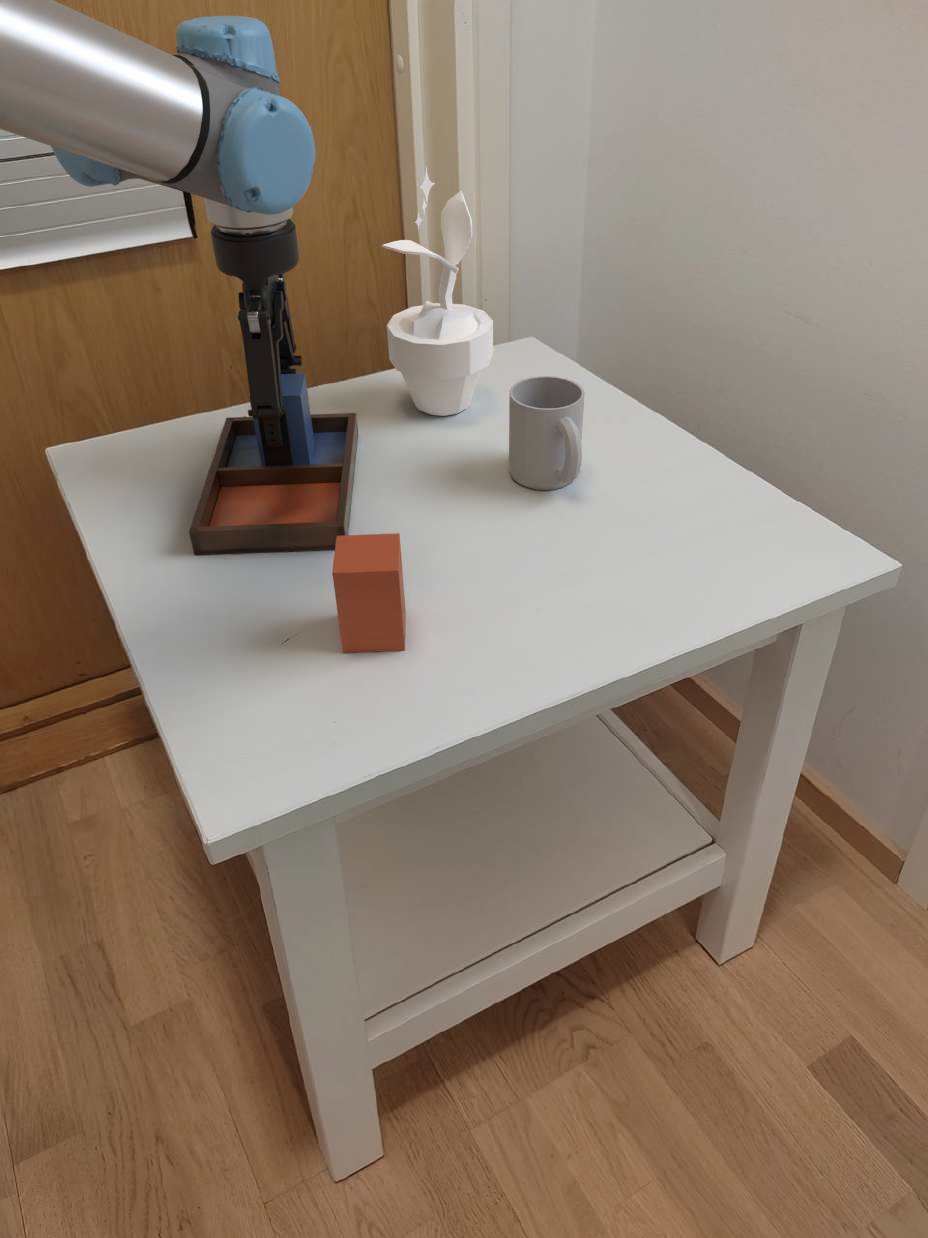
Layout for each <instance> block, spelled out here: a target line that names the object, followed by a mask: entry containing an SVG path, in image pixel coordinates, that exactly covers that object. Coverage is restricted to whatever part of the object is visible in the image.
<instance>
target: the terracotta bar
mask: <svg viewBox="0 0 928 1238" xmlns="http://www.w3.org/2000/svg"><path fill="white" fill-rule="evenodd" d="M401 545H402V543H401V534H400V533H373V534H372V533H371V534H348V535H343V536H337V537H336V545H335V550H334V555H333V556H334V557H333V564H332V574H331V575H332V581H333V582H332V583H333V588H334V589H333V590H334V597H335V604H336V610H337V611H336V612H337V618H338V626H339V633H340V641H341V648H342V653H343V654H346V653H349V654H350V653H368V652H369V653H372V652H373V653H374V652H396V651H397V652H398V651H405V650H406V617H407V616H406V615H407V614H406V611H407V610H406V600H405V599H406V597H405V585H404V571H403V559H402V547H401Z"/></svg>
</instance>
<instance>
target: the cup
mask: <svg viewBox="0 0 928 1238" xmlns="http://www.w3.org/2000/svg"><path fill="white" fill-rule="evenodd" d="M585 394H586V393H585V390H584V388H583V387H582V385H580V384H579V383H578V382H576V381H574V380H572V379H569V378H566V377H560V376H553V375H539V376H532V377H527V378H524V379H521V380H519V381H517V382H515V383H514V384H513V385H512V386H511V387H510V390H509V404H508V405H509V408H508V409H509V410H508V412H509V413H508V414H509V415H508V420H509V421H508V471H509V474H510V476H511V477H512V479H513V480H514V481H515V482H516V483H518V484H519V485H521V486H523V487H525V488H527V489H528V488H529V489H532V490H541V491H550V490H556V489H557V490H558V489H561V488H564V487H567V486H568V485H570V484H572V483H573V482H574V481H575V480H576V479H577V478H578V476H579V474H580V471H581V468H582V458H583V451H582V449H583V448H582V447H583V446H582V438H583V423H584V411H585V410H584V406H585Z"/></svg>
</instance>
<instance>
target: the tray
mask: <svg viewBox="0 0 928 1238" xmlns="http://www.w3.org/2000/svg"><path fill="white" fill-rule="evenodd" d="M311 421H312V428H313V436H314V449H313V455H312V461H311V464H310V465H283V466H261V460H260V455H259V449H258V443H257V438H256V432H255V426H254V421H253V417H252V416H234V417H231V416H230V417H226V418H225V421H224V424H223V427H222V430H221V433H220V436H219V439H218V442H217V445H216V448H215V451H214V454H213V457H212V461H211V463H210V465H209V466H210V467H209V470H208V473H207V475H206V479H205V481H204V485H203V488H202V491H201V493H200V497H199V500H198V503H197V506H196V509H195V512H194V515H193V517H192V521H191V524H190V527H189V531H188V534H189V538H190V543H191V547H192V552H193V554H194V556H203V555H205V556H206V555H228V554H229V555H230V554H231V555H232V554H233V555H234V554H256V553H260V554H261V553H283V552H308V551H311V552H312V551H335V545H336V537H337V536H343V535H349V531H350V520H351V510H352V509H351V508H352V500H353V499H352V498H353V490H354V481H355V480H354V479H355V469H356V460H357V451H358V449H357V448H358V439H359V427H358V419H357V412H345V413H343V412H341V413H317V414H314V413H313V414H312V413H311Z"/></svg>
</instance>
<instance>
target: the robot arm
mask: <svg viewBox="0 0 928 1238" xmlns="http://www.w3.org/2000/svg"><path fill="white" fill-rule="evenodd" d="M175 38H176V46H175V50H176V54H171V53H168V52H166V51H164V50H162V49H159V48H158V47H155V46H153V45H151V44H149V43H147V42H144V41H142V40H140V39H139V38H137V37H134V36H132V35H130V34H128V33H125V32H124V31H121V30H119V29H117V28H114V27H113V26H110V25H108V24H106V23H104V22H101V21H99V20H97V19H95V18H92V17H90V16H88V15H86V14H84V13H82V12H80V11H78V10H75V9H73V8H71V7H69V6H67V5H65V4H62V3H61V2H58V1H56V0H0V130H1V131H4V132H8V133H11V134H14V135H17V136H19V137H22V138H26V139H28V140H32V141H35V142H38V143H41V144H45V145H47V146H50V147H51V150H52V151H53V154H54V156H55V157H56V158H55V159H57V162H59V164H60V166H61V167H62V169H63V170H64V171H65V172H66V173H67V175H69V177H71V179H72V180H74V181H75V182H77V183H78V184H80V185H81V186H85V187H98V186H105V185H113V186H119V185H120V183H123V182H125V181H127V180H134V179H135V180H137V179H138V180H142V181H146V182H149V183H152V184H156V185H159V186H162V187H165V188H170V189H174V190H177V191H180V192H183V193H187V194H188V193H189V194H192V195H195V196H198V197H201V198H203V200H204V207H205V212H206V218H207V221H208V222H209V223H211V224H212V225H213V226H212V228H211V229H210V236H211V242H212V249H213V255H214V260H215V264H216V267H217V269H218V270H219V271H220V272H221V273H223V274H224V275H225V276H229V277H235V278H237V279H239V280H240V281H241V282H242V285H241V286H242V288H241V289H242V291H239V292H238V308H239V310H238V314H237V319H238V321H239V326H240V331H241V336H242V342H243V343H242V344H243V350H244V359H245V366H246V367H245V368H246V373H247V375H246V376H247V383H248V390H249V397H250V398H249V400H250V399H251V404H250V408H251V407H252V409H247V414H248V417H253V418H254V419H258V422H259V428H260V434H261V440H262V446H263V453H264V459H265V465H266V466H283V465H294V460H293V453H292V446H291V439H290V432H289V425H288V418H287V411H286V409H284V406H283V399H282V385H281V374H297V370H296V368H292V367H302V365H303V357H302V355H295V354H296V351H297V344H296V342H295V341H296V340H295V336H294V329H293V323H292V317H291V310H290V305H289V299H288V293H287V291H288V290H287V289H288V288H287V284H286V281H285V274H286V273H288V272H290V271H292V270H293V269H294V268H296V266H297V265H298V264H299V262H300V253H299V243H298V237H297V235H298V234H297V228H296V224H295V222H293V220H292V219H291V218H292V216H293V215H294V208H293V207H295V206H296V205H297V204H298V203H299V202H300V201H301V200H302V198H303V197H304V196H305V194H306V193H307V190H308V189H309V187H310V184H311V181H312V176H313V174H314V168H315V164H316V144H315V138H314V134H313V130H312V128H311V125H310V123H309V121H308V120H307V118H306V116H305V115H304V113H303V111H301V109H300V108H299V107H298V106H297V105H296V104H295V103H294V102H293V101H291V100H289V99H288V98H286V97H283V96H282V95H281V89H280V83H281V77H280V76H279V73H278V67H277V62H276V56H275V50H274V45H273V40H272V37H271V32H270V30H269V28H268V27H267V25H266V24H265V23H264V21H261V20H260V19H258V18H255V17H250V16H244V15H242V16H241V15H214V16H213V15H212V16H201V17H194V18H190V19H189V20H188V19H187V20H183V21H181V22H180V23H178V25H177V26H176V30H175Z"/></svg>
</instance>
